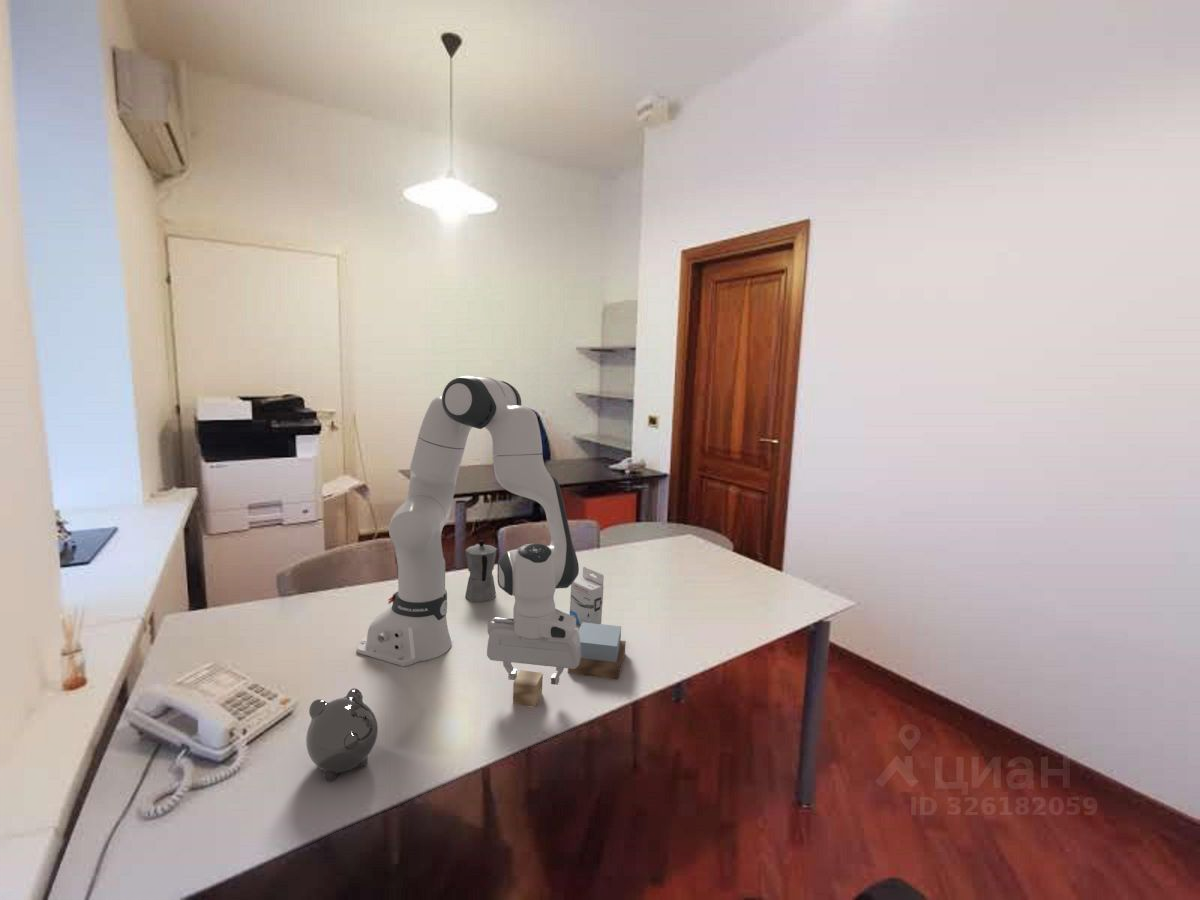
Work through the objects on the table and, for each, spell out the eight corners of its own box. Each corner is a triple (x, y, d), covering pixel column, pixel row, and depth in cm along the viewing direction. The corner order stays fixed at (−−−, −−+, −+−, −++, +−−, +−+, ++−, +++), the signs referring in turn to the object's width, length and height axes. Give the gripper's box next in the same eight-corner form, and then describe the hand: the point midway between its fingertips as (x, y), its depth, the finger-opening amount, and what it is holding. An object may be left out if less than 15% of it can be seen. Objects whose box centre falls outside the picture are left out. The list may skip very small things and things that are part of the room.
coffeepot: (463, 588, 172) (463, 534, 169) (493, 586, 175) (494, 532, 172) (467, 610, 157) (468, 550, 154) (500, 606, 160) (501, 548, 157)
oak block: (512, 704, 115) (513, 682, 115) (520, 690, 120) (520, 669, 119) (535, 707, 115) (536, 686, 114) (542, 694, 119) (542, 673, 119)
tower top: (574, 657, 128) (575, 641, 128) (581, 636, 138) (582, 622, 138) (616, 662, 127) (617, 646, 126) (620, 641, 137) (621, 626, 136)
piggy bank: (363, 728, 105) (362, 674, 104) (388, 775, 94) (387, 715, 92) (299, 751, 99) (296, 693, 97) (317, 805, 87) (315, 741, 85)
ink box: (568, 619, 155) (570, 570, 152) (580, 614, 158) (582, 566, 156) (589, 630, 149) (592, 579, 147) (602, 624, 152) (604, 574, 150)
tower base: (567, 674, 128) (568, 659, 127) (578, 649, 140) (579, 634, 139) (617, 682, 126) (618, 666, 125) (624, 655, 138) (625, 641, 137)
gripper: (482, 623, 114) (482, 684, 116) (578, 632, 111) (576, 694, 113) (492, 610, 120) (492, 668, 122) (583, 618, 117) (581, 677, 119)
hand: (533, 680), depth 117 cm, fingers open, 8 cm apart
